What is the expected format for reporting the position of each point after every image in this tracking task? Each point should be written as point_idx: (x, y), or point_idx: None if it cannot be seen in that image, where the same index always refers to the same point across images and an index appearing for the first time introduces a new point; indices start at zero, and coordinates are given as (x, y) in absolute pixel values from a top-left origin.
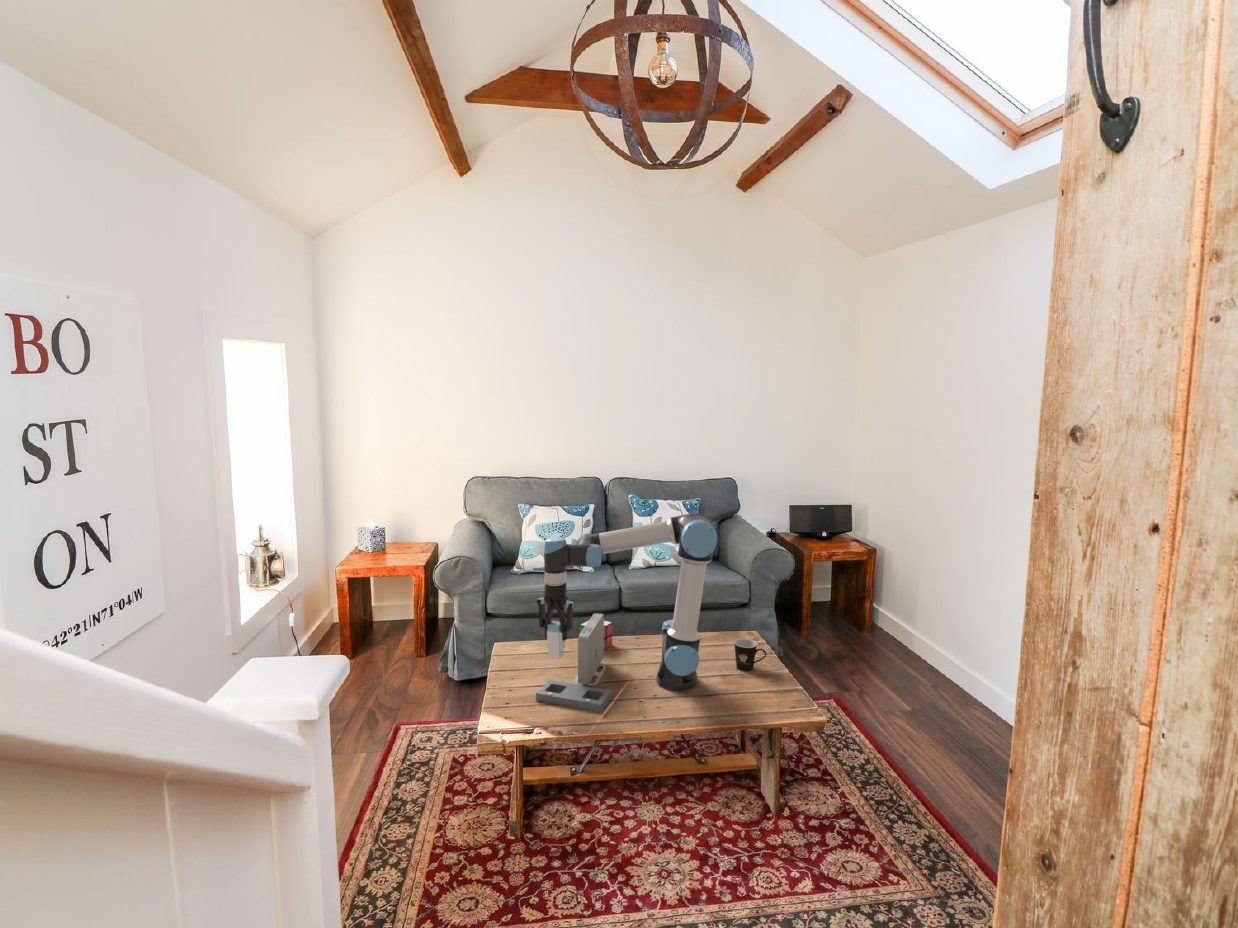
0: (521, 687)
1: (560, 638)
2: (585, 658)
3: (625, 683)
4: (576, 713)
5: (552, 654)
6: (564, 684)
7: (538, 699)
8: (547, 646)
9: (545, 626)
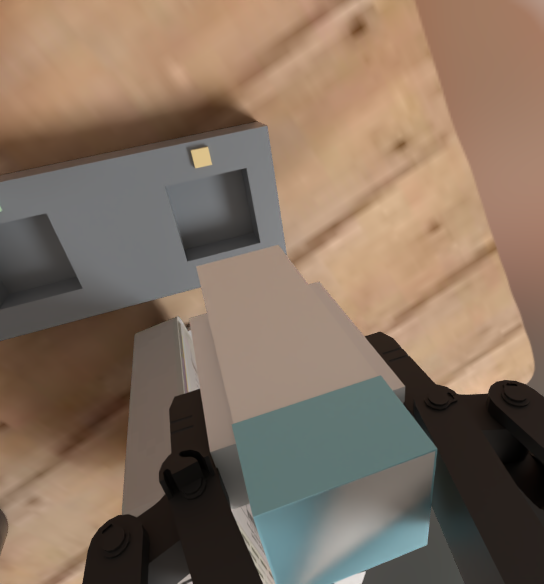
0: (373, 189)
1: (213, 385)
2: (142, 407)
3: (62, 426)
4: (12, 123)
5: (253, 265)
6: None
7: (247, 125)
8: (320, 288)
9: (451, 413)
